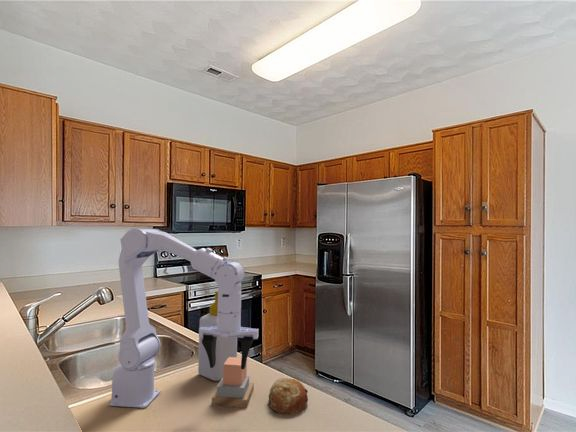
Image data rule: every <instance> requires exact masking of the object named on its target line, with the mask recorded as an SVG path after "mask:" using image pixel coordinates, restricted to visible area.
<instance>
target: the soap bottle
mask: <svg viewBox="0 0 576 432" xmlns="http://www.w3.org/2000/svg"><path fill="white" fill-rule="evenodd" d="M214 292H215V293H214V302H213V303H211V304H210V306H209V313H207V314H205V315H203V316H201V317H200V318H199V327H198V330H199V329H200V328H201V327H214V326H217V315H218V290H215V291H214ZM202 340H203V337H199V336H198V363H197V364H198V365H197V366H198V367H197V368H198V371H197V373H198V374H199V375H200V376H202V377H204V378H206V379H209V380H211V381H213V382H218V381H219V382H220V381H221V379H222V377H223V364H224V363H225V361H226V360H227V359H228V358H229V357H237V358H238V337H217V341H216V363H215V366H214V367H213V368H210V363H209V359H208V355H207V352H206V350H205V348H204V346H203V345H202Z"/></svg>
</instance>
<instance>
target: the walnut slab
mask: <svg viewBox="0 0 576 432" xmlns="http://www.w3.org/2000/svg"><path fill="white" fill-rule="evenodd" d="M254 388H255V383H254V382H253V383H252V382H249V387H248V389H247V391H246V394H245V396H244V398H231V397H216V396H217V389H216V390H215V392H214V393H213V395H212V397H211V406H218V407H219V406H220V407H232V406H236V407H235V408H237V407H238V408H248V406H249V404H250V403H249V402H250V401H251V398H252V395H253V393H254Z"/></svg>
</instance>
